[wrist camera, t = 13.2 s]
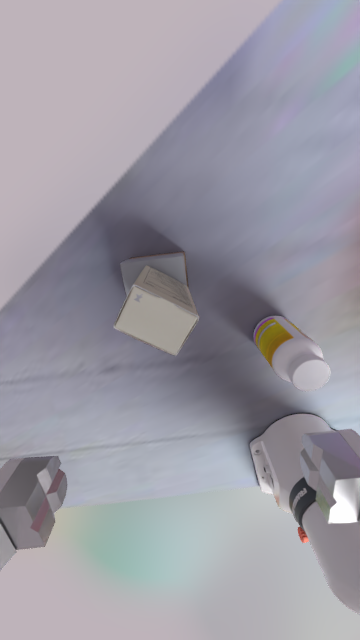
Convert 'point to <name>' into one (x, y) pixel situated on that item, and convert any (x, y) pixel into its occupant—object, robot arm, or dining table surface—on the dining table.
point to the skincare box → (158, 312)
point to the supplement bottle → (291, 353)
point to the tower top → (164, 263)
